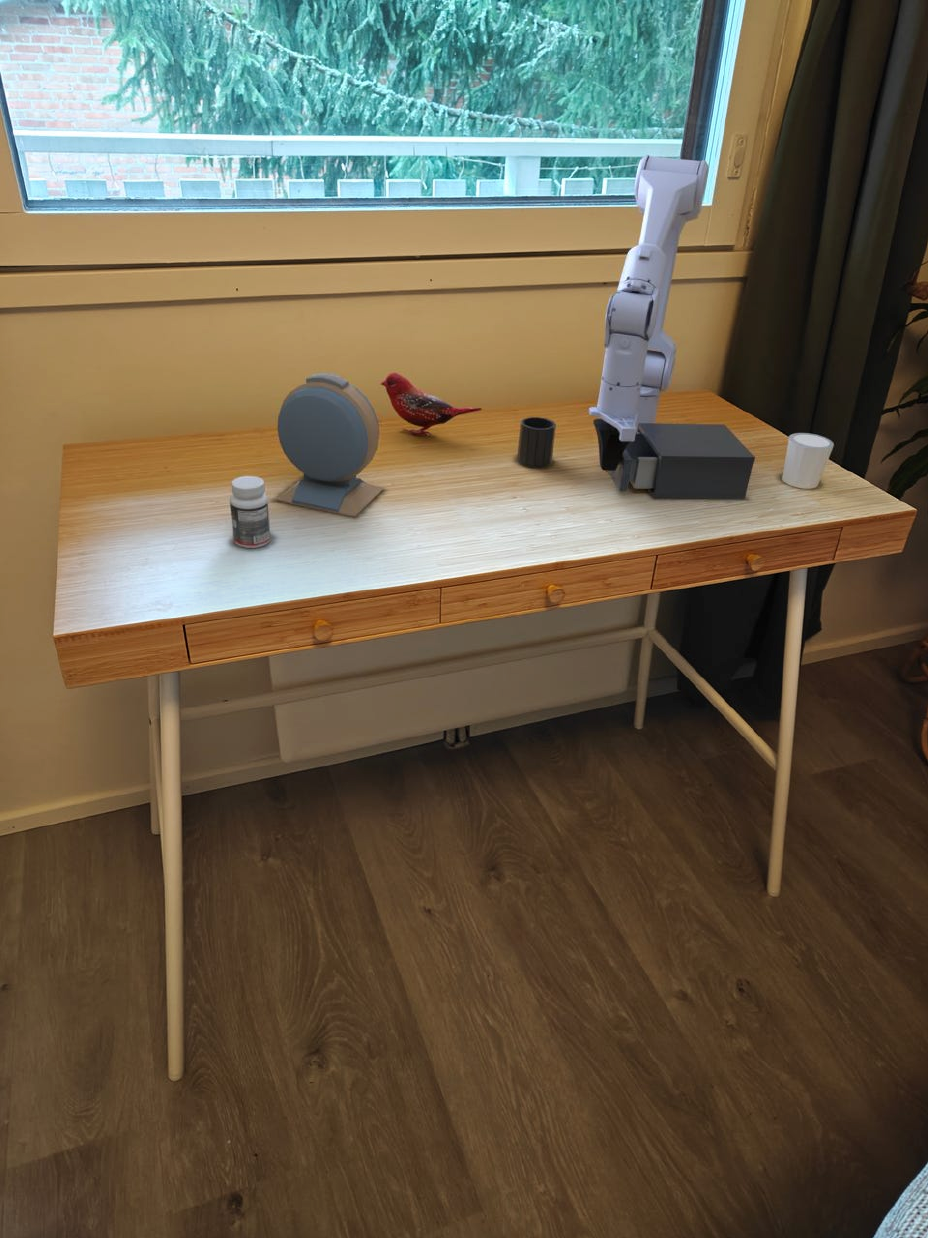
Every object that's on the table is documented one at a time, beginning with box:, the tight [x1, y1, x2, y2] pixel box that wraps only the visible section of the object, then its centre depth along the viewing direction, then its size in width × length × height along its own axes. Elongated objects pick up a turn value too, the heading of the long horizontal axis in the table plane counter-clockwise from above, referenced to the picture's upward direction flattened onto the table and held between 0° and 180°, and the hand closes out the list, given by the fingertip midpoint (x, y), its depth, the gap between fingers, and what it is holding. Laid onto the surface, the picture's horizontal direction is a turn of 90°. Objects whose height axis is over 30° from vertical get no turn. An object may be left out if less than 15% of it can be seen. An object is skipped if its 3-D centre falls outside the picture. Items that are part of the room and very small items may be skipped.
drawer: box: [607, 432, 660, 492], centre depth 139 cm, size 15×12×5 cm
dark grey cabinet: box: [637, 422, 756, 500], centre depth 140 cm, size 14×13×7 cm
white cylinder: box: [781, 432, 835, 490], centre depth 142 cm, size 7×7×7 cm
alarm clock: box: [275, 372, 384, 518], centre depth 125 cm, size 14×10×18 cm
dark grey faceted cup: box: [517, 416, 557, 469], centre depth 143 cm, size 5×5×6 cm
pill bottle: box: [229, 475, 271, 549], centre depth 115 cm, size 5×5×8 cm
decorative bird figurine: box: [380, 372, 483, 436], centre depth 148 cm, size 3×18×10 cm, turn 74°
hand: (608, 468), depth 135 cm, fingers closed, pressing on drawer
